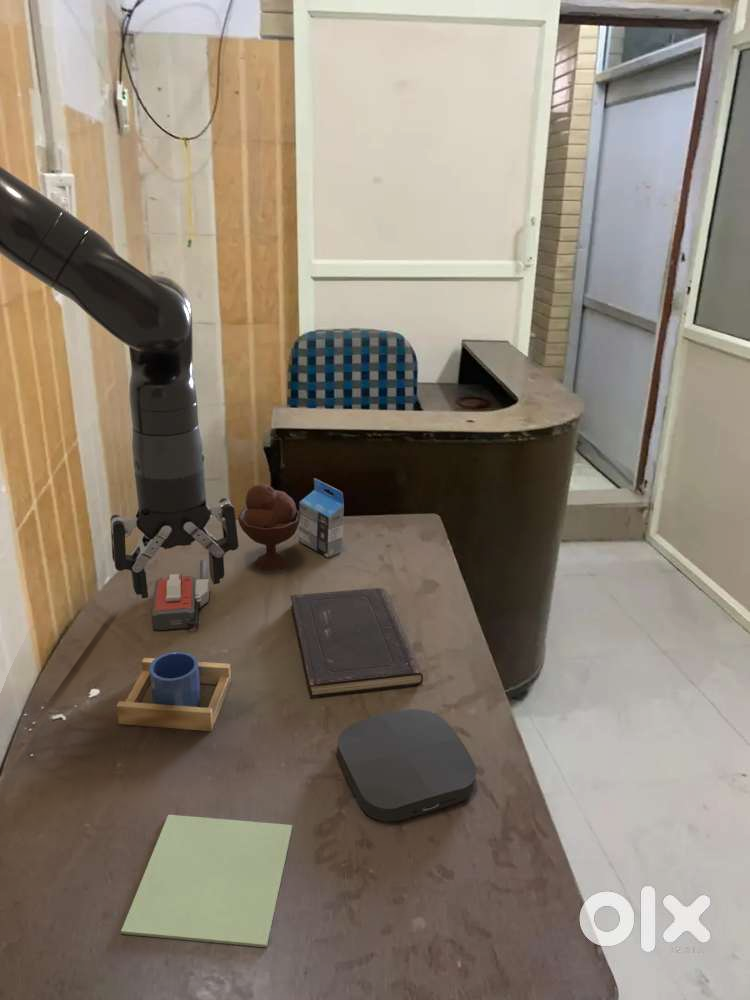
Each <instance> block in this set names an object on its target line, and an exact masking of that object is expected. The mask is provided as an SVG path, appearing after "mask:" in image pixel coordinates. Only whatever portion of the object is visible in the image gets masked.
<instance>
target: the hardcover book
mask: <svg viewBox="0 0 750 1000" xmlns="http://www.w3.org/2000/svg"><path fill="white" fill-rule="evenodd" d="M290 601H291V605H290V609H291V615H292V620H293V624H294V629H295V635H296V639H297V643H298V648H299V654H300V657H301V663H302V667H303V671H304V677H305V681H306V686H307V691H308V695H309V699H316V698H323V697H332V696H340V695H349V694H359V693H366V692H367V693H368V692H377V691H386V690H393V689H403V688H411V687H419V686H420V685H422V684H423V680H424V674H423V672H422V670H421V667H420V666H419V663H418V661H417V658H416V656H415V653H414V651H413V649H412V646H411V644H410V642H409V640H408V637H407V635H406V633H405V630H404V628H403V626H402V623H401V621H400V619H399V616H398V614H397V612H396V610H395V608H394V605H393V603H392V601H391V598H390V596H389V593H388V591H387V588H385V587H372V588H362V589H351V590H350V589H349V590H339V591H338V590H337V591H326V592H316V593H315V592H314V593H304V594H303V593H302V594H292V595H290Z"/></svg>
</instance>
